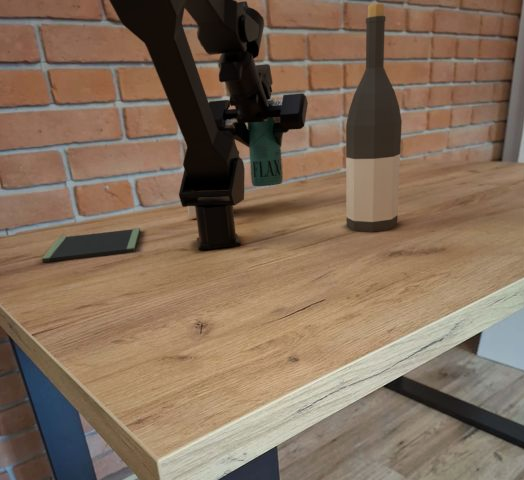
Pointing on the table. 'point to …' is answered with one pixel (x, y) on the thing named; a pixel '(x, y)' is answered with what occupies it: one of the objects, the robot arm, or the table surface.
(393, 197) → the wine bottle
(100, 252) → the dark square mat
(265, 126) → the beverage bottle
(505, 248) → the table surface
